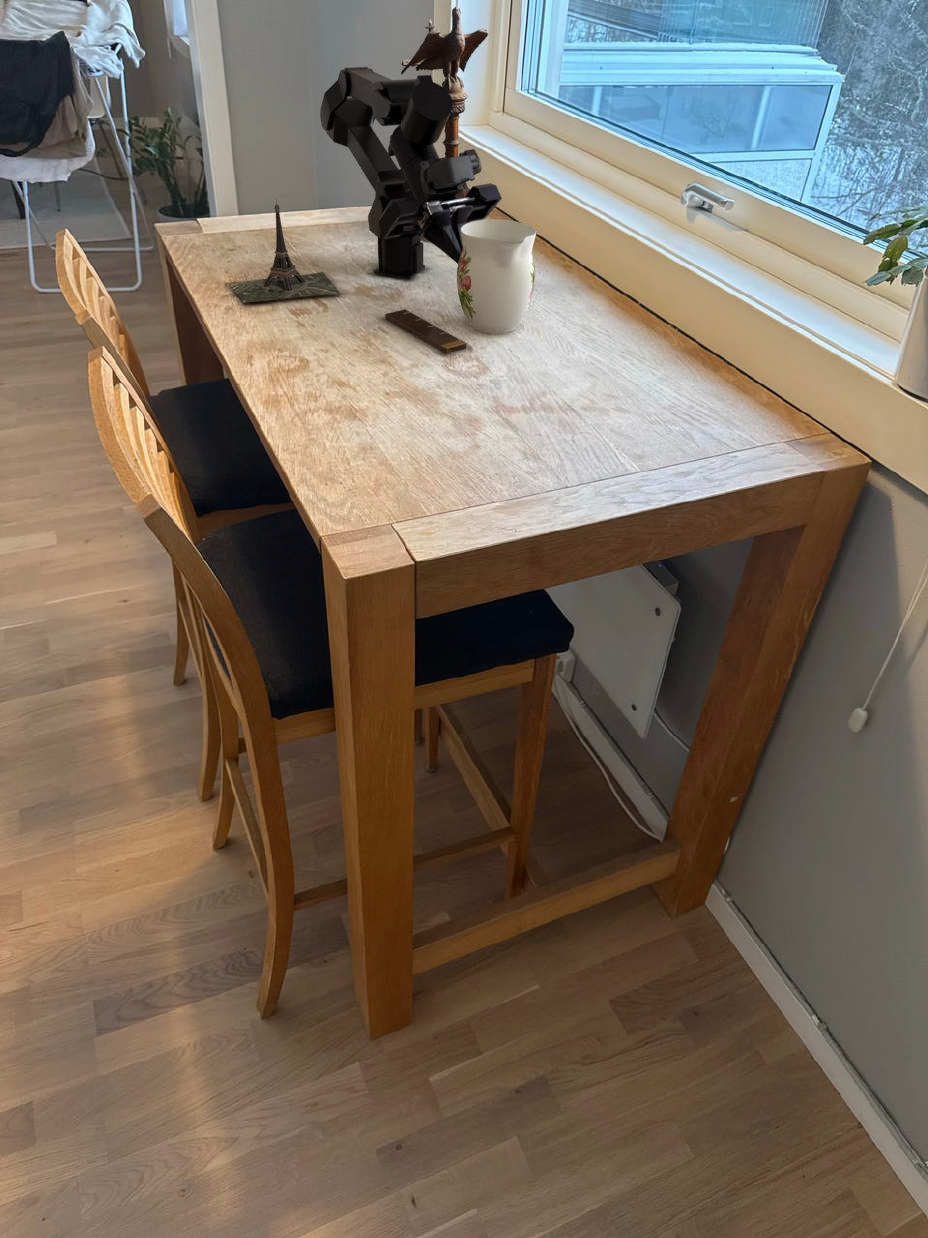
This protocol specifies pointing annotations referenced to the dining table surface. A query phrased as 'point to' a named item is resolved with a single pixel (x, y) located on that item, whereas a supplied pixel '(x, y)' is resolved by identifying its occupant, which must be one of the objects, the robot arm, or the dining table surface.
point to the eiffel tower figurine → (284, 278)
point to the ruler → (426, 331)
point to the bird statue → (449, 73)
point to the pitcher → (496, 274)
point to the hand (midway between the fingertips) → (464, 264)
